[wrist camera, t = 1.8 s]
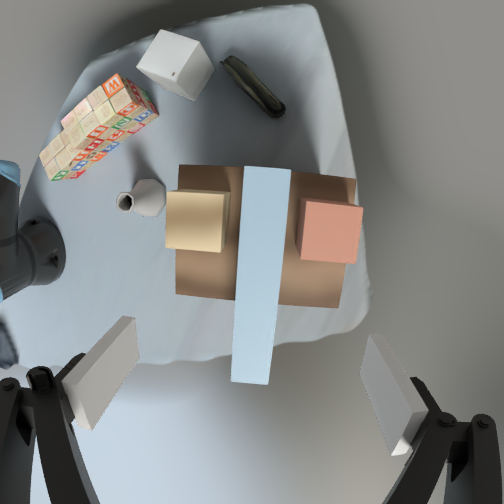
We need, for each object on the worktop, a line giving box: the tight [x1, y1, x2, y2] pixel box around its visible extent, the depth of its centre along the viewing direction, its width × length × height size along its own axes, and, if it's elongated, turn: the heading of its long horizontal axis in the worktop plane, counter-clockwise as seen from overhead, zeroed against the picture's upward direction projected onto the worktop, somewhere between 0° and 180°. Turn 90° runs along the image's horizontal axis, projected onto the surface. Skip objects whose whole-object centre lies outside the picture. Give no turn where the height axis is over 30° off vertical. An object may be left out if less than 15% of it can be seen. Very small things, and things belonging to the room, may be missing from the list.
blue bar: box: [231, 166, 291, 385], centre depth 30 cm, size 22×4×4 cm, turn 176°
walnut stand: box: [176, 164, 356, 308], centre depth 42 cm, size 14×18×22 cm
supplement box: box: [136, 29, 215, 102], centre depth 41 cm, size 7×7×13 cm
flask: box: [116, 179, 166, 217], centre depth 48 cm, size 7×7×10 cm
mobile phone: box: [219, 56, 286, 118], centre depth 45 cm, size 5×3×15 cm
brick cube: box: [296, 197, 363, 264], centre depth 28 cm, size 5×5×5 cm
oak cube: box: [166, 189, 231, 253], centre depth 28 cm, size 5×5×5 cm
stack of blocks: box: [39, 73, 159, 181], centre depth 44 cm, size 21×6×12 cm, turn 119°
